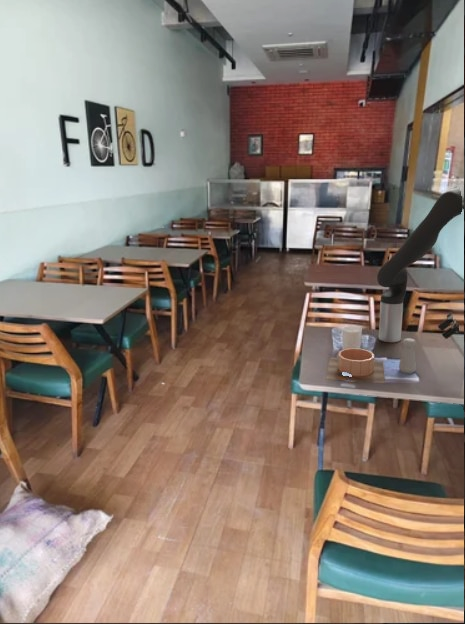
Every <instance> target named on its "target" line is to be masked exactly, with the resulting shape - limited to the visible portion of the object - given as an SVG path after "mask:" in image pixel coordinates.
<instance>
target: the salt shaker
mask: <svg viewBox="0 0 465 624" xmlns="http://www.w3.org/2000/svg"><path fill="white" fill-rule="evenodd" d="M402 345H403V350H402V354H401V357H400V360H399V364H398V368H399V371H400V372H401V373H403V374H408V375H410V374H414V373H415V371H416V370H417V364H416V355H415V348H414V347H416V345H417V343H416V340H415V339H414V338H410V337H408V338H404V339H403V340H402Z"/></svg>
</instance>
